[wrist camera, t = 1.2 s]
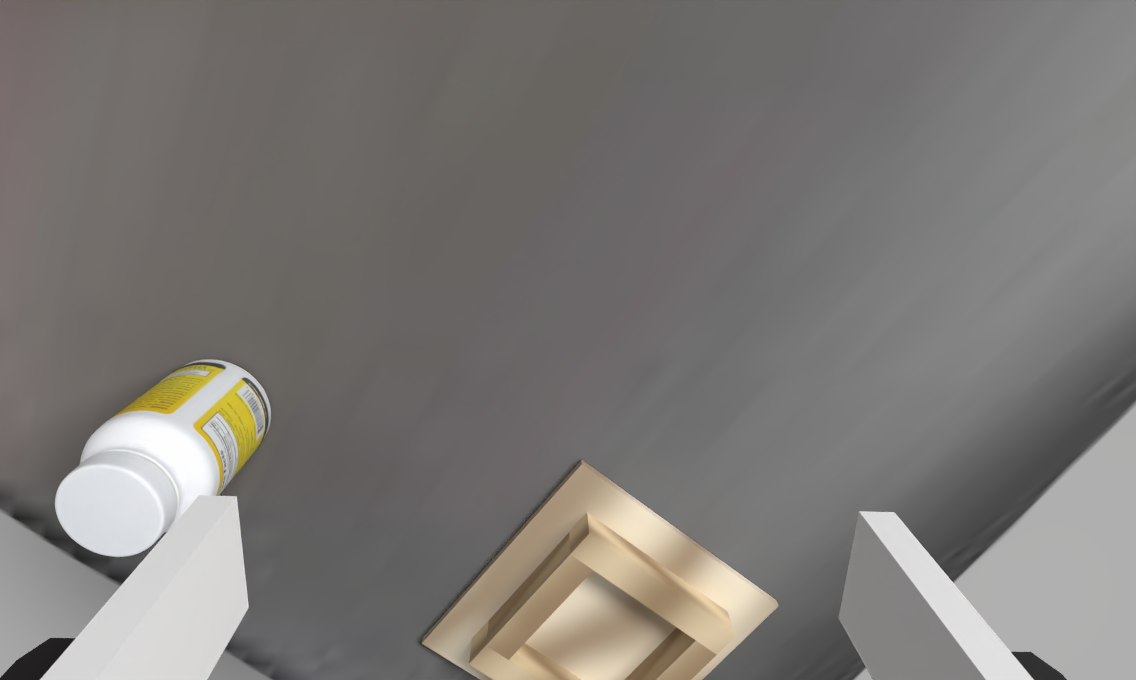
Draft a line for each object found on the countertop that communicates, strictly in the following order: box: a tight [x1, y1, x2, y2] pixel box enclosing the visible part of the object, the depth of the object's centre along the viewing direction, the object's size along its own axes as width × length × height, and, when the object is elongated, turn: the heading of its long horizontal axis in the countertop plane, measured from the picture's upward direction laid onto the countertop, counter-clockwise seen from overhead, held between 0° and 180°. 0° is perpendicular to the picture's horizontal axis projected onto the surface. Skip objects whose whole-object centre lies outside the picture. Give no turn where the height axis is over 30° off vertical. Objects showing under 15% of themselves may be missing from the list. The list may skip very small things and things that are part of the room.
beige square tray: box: [422, 460, 778, 680], centre depth 40 cm, size 14×14×2 cm
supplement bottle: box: [55, 359, 271, 557], centre depth 32 cm, size 5×5×10 cm
